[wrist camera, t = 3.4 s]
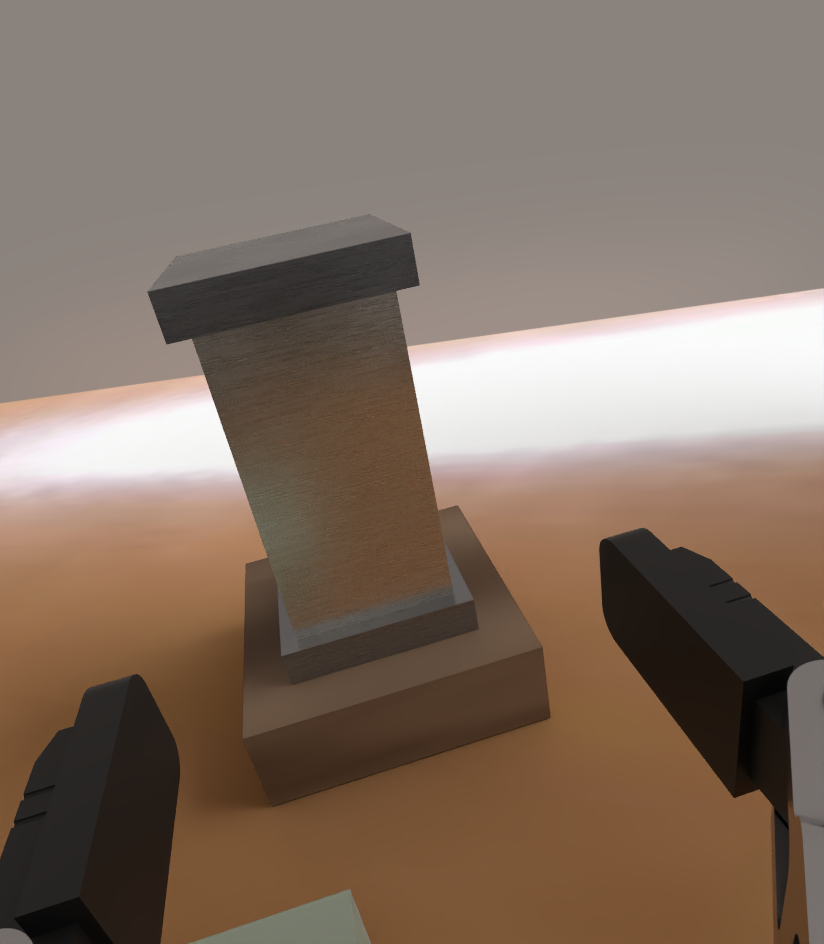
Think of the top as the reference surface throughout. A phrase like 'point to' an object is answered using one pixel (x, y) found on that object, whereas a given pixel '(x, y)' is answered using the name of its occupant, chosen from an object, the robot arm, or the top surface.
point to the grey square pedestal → (325, 434)
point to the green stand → (302, 925)
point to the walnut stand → (388, 687)
